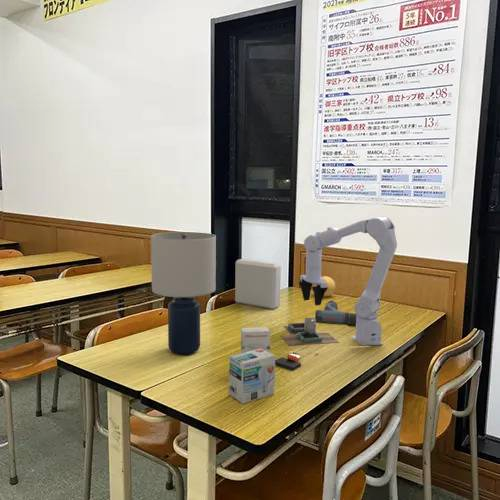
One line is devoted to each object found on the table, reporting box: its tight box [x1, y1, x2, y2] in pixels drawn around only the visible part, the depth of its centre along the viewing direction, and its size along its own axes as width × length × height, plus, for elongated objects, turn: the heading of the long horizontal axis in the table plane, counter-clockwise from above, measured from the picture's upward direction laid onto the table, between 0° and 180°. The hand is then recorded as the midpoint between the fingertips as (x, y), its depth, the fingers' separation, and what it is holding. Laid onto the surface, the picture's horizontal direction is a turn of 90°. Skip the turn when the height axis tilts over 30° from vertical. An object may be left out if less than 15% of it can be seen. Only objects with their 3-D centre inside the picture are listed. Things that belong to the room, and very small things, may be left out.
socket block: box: [282, 322, 305, 335], centre depth 176 cm, size 10×10×2 cm
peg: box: [303, 317, 317, 338], centre depth 165 cm, size 4×4×7 cm
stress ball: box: [314, 275, 336, 298], centre depth 229 cm, size 10×10×10 cm
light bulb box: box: [228, 348, 276, 404], centre depth 123 cm, size 11×7×11 cm, turn 126°
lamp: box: [150, 231, 217, 356], centre depth 152 cm, size 20×20×39 cm
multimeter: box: [275, 352, 320, 372], centre depth 150 cm, size 18×12×3 cm, turn 136°
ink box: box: [240, 326, 271, 353], centre depth 142 cm, size 9×5×12 cm, turn 96°
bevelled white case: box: [234, 258, 282, 310], centre depth 211 cm, size 21×8×20 cm, turn 58°
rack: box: [280, 332, 340, 347], centre depth 166 cm, size 10×18×2 cm, turn 102°
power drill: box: [314, 300, 356, 326], centre depth 194 cm, size 5×19×20 cm
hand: (312, 302), depth 177 cm, fingers open, 7 cm apart
